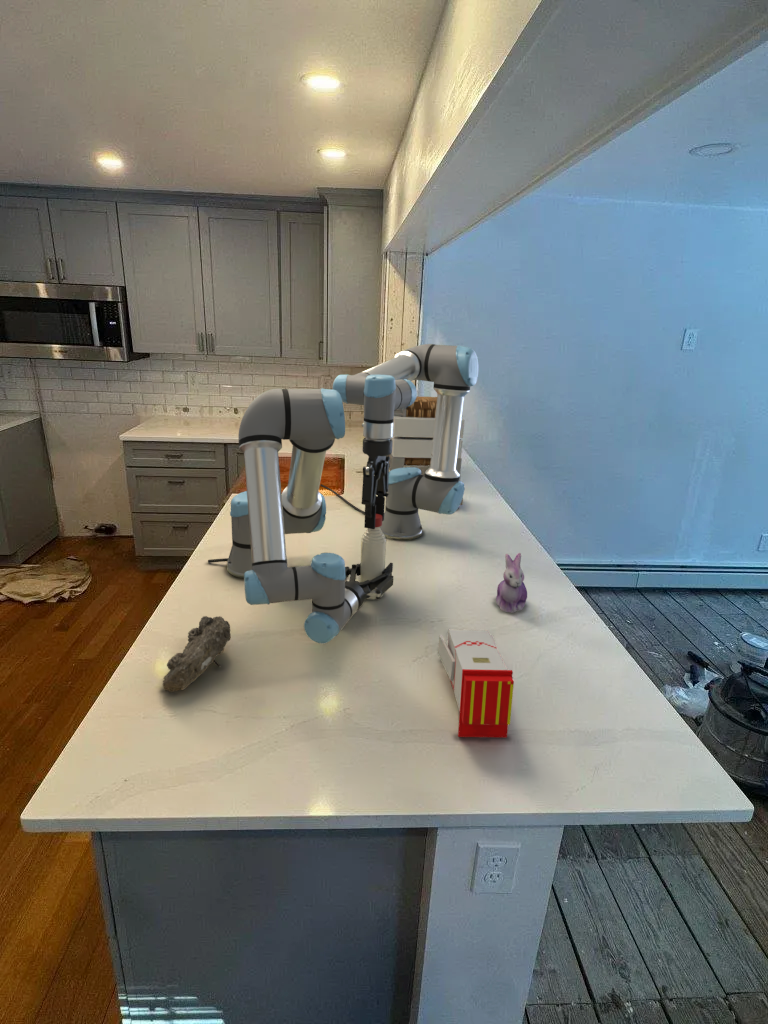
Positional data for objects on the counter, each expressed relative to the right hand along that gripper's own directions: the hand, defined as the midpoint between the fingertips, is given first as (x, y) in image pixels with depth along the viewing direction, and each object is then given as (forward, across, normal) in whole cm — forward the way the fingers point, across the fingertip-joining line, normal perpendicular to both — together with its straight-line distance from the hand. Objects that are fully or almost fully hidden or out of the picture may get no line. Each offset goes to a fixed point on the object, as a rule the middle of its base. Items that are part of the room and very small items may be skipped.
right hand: (374, 523), depth 150 cm
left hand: (+14, -5, 0) cm, 15 cm away
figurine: (+21, -10, +37) cm, 44 cm away
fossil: (+21, +46, -22) cm, 55 cm away
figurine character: (+21, -85, +3) cm, 88 cm away
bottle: (+21, 0, 0) cm, 21 cm away
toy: (+21, +32, +34) cm, 51 cm away
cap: (-2, 0, 0) cm, 2 cm away
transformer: (+21, -124, -23) cm, 128 cm away
